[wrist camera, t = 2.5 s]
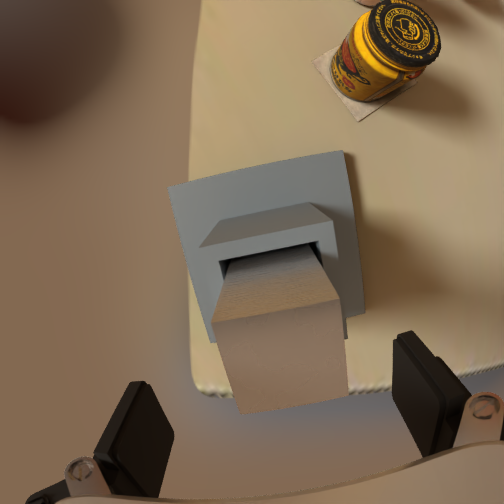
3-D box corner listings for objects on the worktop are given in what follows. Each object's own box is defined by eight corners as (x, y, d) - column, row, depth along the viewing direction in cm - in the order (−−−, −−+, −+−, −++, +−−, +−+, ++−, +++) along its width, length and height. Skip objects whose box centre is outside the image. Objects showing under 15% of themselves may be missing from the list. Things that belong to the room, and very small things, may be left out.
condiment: (310, 62, 26) (337, 5, 14) (373, 27, 24) (421, -28, 13) (356, 122, 27) (412, 98, 15) (416, 83, 26) (484, 52, 14)
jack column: (295, 220, 28) (341, 295, 12) (305, 275, 29) (350, 396, 13) (238, 232, 28) (207, 321, 12) (250, 286, 30) (238, 416, 13)
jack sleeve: (338, 150, 28) (384, 142, 17) (361, 307, 32) (401, 369, 21) (171, 186, 29) (121, 198, 18) (212, 335, 33) (192, 407, 22)
